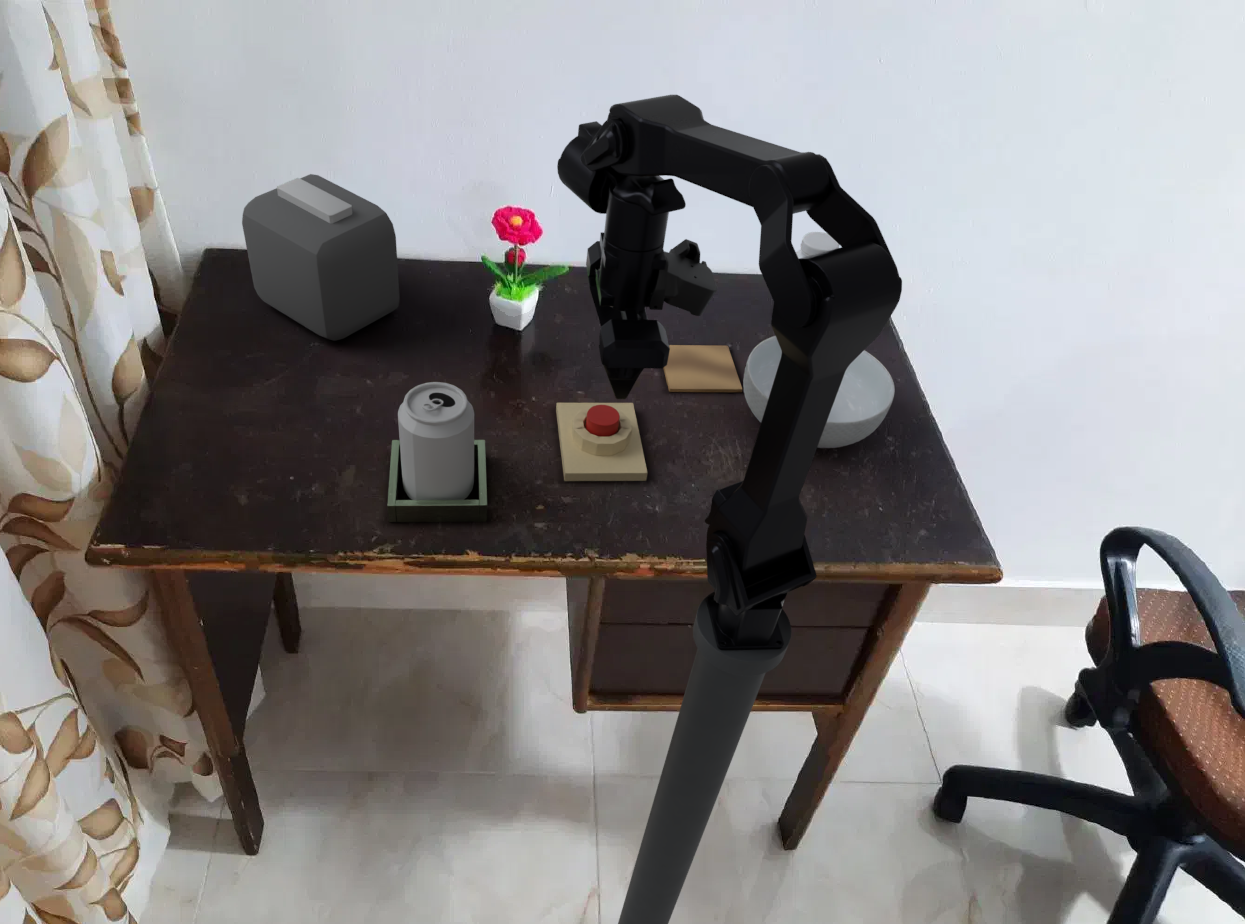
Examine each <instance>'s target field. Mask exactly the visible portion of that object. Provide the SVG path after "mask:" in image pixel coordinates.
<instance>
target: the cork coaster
mask: <svg viewBox="0 0 1245 924" xmlns="http://www.w3.org/2000/svg"><path fill="white" fill-rule="evenodd" d="M669 347H670V352H669V357H668V362H667V365H666V366H665V367H664V368H662V369H663V373H664V375H665V376H664V377H665V381H666V385H667V389H668V392H669V393H743V385H742V383H741V380H740V377H739V375H738V371H737V368H736V366H735V363H734V359H733V357H732V354H731V350H730V347H729V346H728V345H711V344H709V345H708V344H707V345H703V344H702V345H699V344H669Z"/></svg>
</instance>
